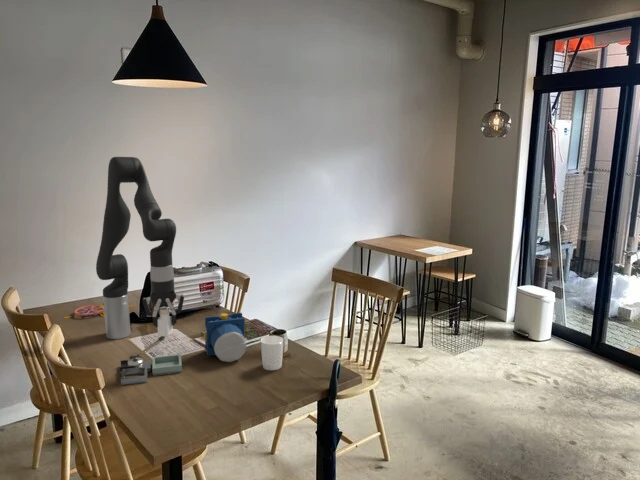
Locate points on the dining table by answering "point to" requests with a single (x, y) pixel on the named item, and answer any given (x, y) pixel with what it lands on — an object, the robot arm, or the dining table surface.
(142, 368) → the grey caddy
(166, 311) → the pepper shaker
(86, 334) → the dining table surface
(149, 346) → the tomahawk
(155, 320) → the robot arm
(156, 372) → the tray
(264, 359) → the white cup
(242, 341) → the blue boxy device
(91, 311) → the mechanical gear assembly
